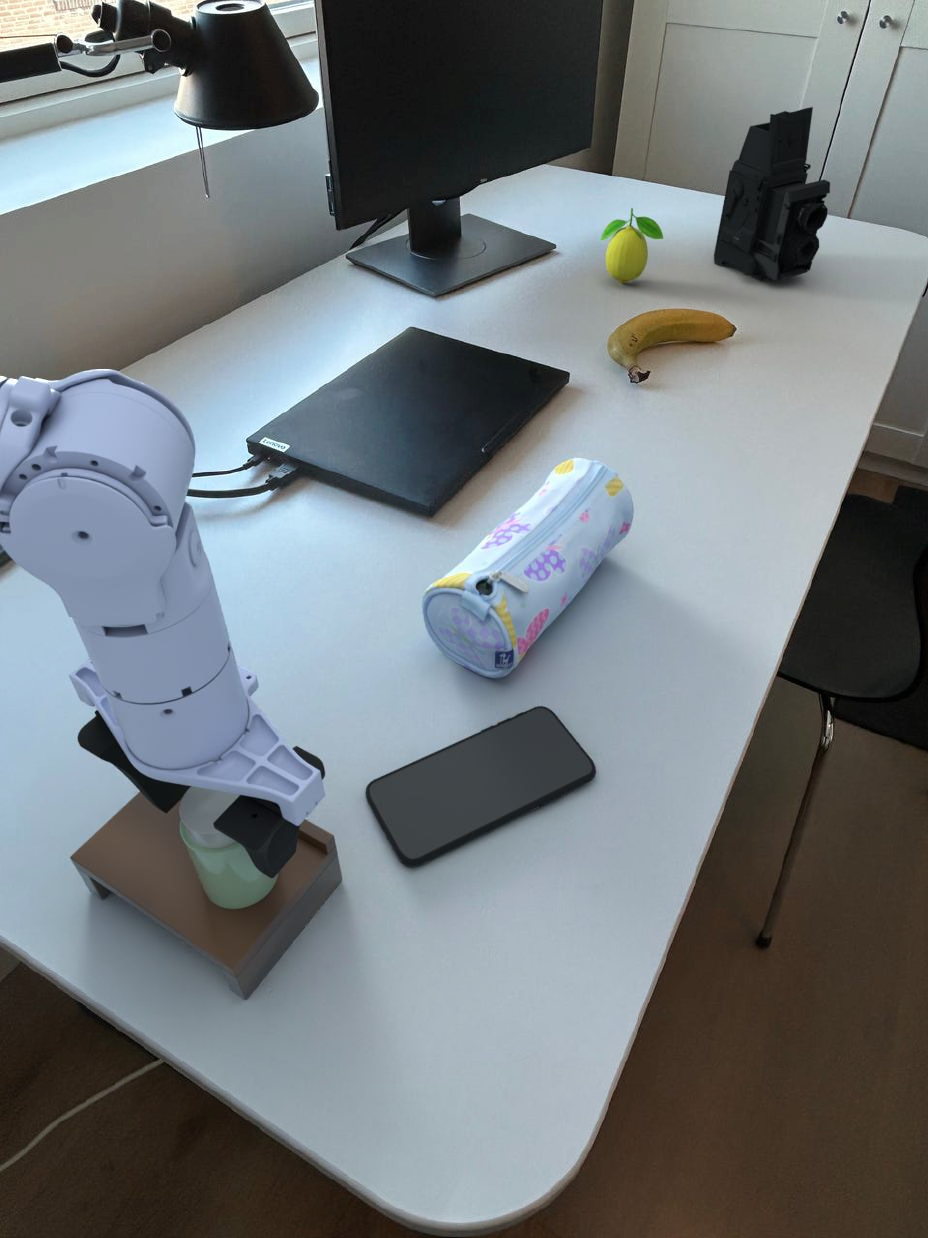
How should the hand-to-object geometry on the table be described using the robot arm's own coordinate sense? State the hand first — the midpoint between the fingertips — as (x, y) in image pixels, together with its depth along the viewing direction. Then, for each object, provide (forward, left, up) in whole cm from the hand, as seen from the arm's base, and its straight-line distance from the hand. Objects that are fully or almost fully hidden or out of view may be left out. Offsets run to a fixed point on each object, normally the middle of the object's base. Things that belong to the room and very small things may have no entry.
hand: (225, 829), depth 48 cm
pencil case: (+13, +30, -9) cm, 34 cm away
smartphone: (+12, +11, -9) cm, 19 cm away
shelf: (-3, +1, -9) cm, 9 cm away
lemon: (+18, +97, -9) cm, 99 cm away
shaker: (0, 0, -5) cm, 5 cm away
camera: (+37, +104, -9) cm, 111 cm away
